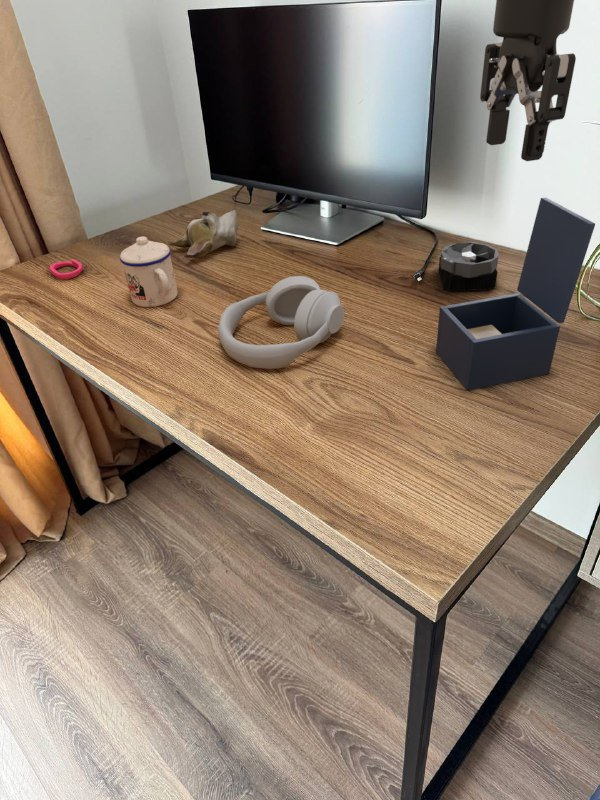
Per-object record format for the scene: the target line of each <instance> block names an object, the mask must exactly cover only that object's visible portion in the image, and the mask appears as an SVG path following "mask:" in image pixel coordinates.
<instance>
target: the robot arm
mask: <svg viewBox="0 0 600 800" xmlns="http://www.w3.org/2000/svg"><path fill="white" fill-rule="evenodd" d="M574 3H575V0H496V1H495V10H494V18H493V19H494V20H493V28H492V31H493V34H494V35H495V36H496V37H499V38H502V42H493V43H489V44H486V46H485V49H484V59H483V67H482V68H483V69H482V76H481V84H480V95H479V99H480V101H481V103H484V102H486V109H487V110H488V111H489V116H488V124H487V131H486V140H485V141H486V144H488V145H490V146H497V145H503V144H504V143H505V142H506V141H507V133H508V127H509V119H510V112H511V111H510V109H508V108H510V106H511V104H512V102H513V101H514V99H515V97H516V96H517V94H518V101H519V104H520V105H522V106H524V112H525V116H526V123H527V124H525V129H524V135H523V141H522V148H521V154H520V159H521V160H523V161H525V162H531V161H532V162H533V161H538V160H541V159H542V157H543V155H544V152H545V147H546V146H545V145H546V141H547V135H548V130H549V126H550V124H551V123H552V122H555V121H558V120H559V121H560V120H563V119H564V118H565V116H566V112H567V107H568V101H569V97H570V91H571V87H572V81H573V76H574V70H575V66H576V60H577V59H576V58H577V57H576V54H575V53H574V52H573V53H563V54H559V53H558V52H557V40H558V38H559V37H560V35H563V34H565V33H567V31H568V30H569V29H570V26H571V20H572V16H573V15H572V14H573V9H574ZM492 79H493V80H492ZM491 81H492V82H491ZM490 88H491V89H490ZM540 89H541V90H540ZM554 96H557V97H556V103H555V107H554V103H553V97H554ZM536 104H538V110H537V105H536Z"/></svg>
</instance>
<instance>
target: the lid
mask: <svg viewBox="0 0 600 800" xmlns="http://www.w3.org/2000/svg"><path fill="white" fill-rule="evenodd" d="M595 227H596V223H595V222H593V221H591V220H589V219H588V218H585V217H583V216H582V215H580V214H578V213H576V212H575V211H572V210H570V209H568V208H567V207H565V206H563V205H561V204H559V203H557V202H555V201H554V200H551V199H550V198H547V197H540V199H539V203H538V207H537V212H536V215H535V219H534V223H533V227H532V231H531V234H530V238H529V242H528V245H527V249H526V252H525V253H526V254H525V257H524V261H523V264H522V268H521V272H520V276H519V280H518V285H517V288H516V290H517V291H518V293H519V294H521V295H522V296H523V297H524V298H526V299H527V300H528V301H529V302H531V303H532V304H533V305H534V306H536V307H537V308H538V309H539V310H540V311H542V312H543V313H544V314H545V315H547V316H548V317H549V318H550V319H552V320H553V321H554V322H555V323H557V324H564V323H565V320H566V317H567V314H568V311H569V308H570V304H571V302H572V299H573V295H574V292H575V289H576V286H577V283H578V281H579V280H578V279H579V277H580V273H581V271H582V267H583V264H584V261H585V258H586V255H587V252H588V249H589V245H590V242H591V239H592V236H593V233H594V230H595Z"/></svg>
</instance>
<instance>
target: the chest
mask: <svg viewBox="0 0 600 800" xmlns="http://www.w3.org/2000/svg"><path fill="white" fill-rule="evenodd" d="M487 325H493V326H494V327H495V328H496V329H497V330H498V331H499V332H500V333H501V334H500V335H495V336H490V337H485V338H479V339H476V338H475V337H474V336H473V335H472V334H471V333H470V332H469V331H468V330H467V329H471V328H477V327H482V326H487ZM560 329H561V325H559V323H558V322H556V321H555V320H554V319H553V318H551V317H550V316H549V315H548V314H546V313H545V312H544V311H543V310H541V309H540V308H539V307H538V306H536V305H535V304H534V303H533V302H531V301H530V300H529V299H528V298H526V297H525V296H524V295H523V294H521V293H520V292H515V293H511V294H510V293H509V294H504V295H500V296H494V297H487V298H483V299H477V300H472V301H466V302H460V303H454V304H448V305H443V306H440V307H439V312H438V324H437V336H436V345H435V346H436V347H435V353H436V354H437V355H438V357H439V358H440V359H441V360H442V362H443V363H444V364H445V365H446V366H447V368H448V369H449V371H451V372H452V374H453V375H454V376H455V377H456V379H457V380H458V381H459V383H460V384H461V385H462V386H463V387H464V388H465V390H466V391H471V390H478V389H483V388H488V387H492V386H497V385H501V384H502V385H503V384H507V383H511V382H517V381H521V380H527V379H532V378H536V377H541V376H547V375H550V373H551V368H552V363H553V359H554V355H555V350H556V347H557V341H558V338H559V334H560Z"/></svg>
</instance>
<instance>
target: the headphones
mask: <svg viewBox="0 0 600 800" xmlns="http://www.w3.org/2000/svg"><path fill="white" fill-rule="evenodd" d="M262 304H265V308H266V311H267V313H268V315H269V317H270V319H272V320H273V321H274V322H275V323H278V324H281V325H283V326H294V332H295V335H296V337H297V338H298V339H299V341H294V342H286V343H285V342H284V343H277V344H260V345H259V344H252V343H245V342H242V341H241V340H238V339H236V338H235V337H234V336H233V335H234V333H235V331H236V329H237V327H238V325H240V322H241V321H242V320H243V319H244V316H245V315H246V313H248V312H249V311H251V309H253V308H255V307H256V306H258V305H262ZM344 319H345V309H344V307H343V306H341V300H340V296H339V294H337V293H336V292H333V291H331V290H330V291H329V290H327V289H326V290H325V289H321V288H320V286H319V284H318V283H317V282H316V281H315V280H314V279H313V278H310V277H308V276H303V275H294V276H288V277H285V278H283V279H281V280H279V281H278V282H276V283H275V284H274V285H273V286H271V288H270V290H269V291H268V292H262V293H258V294H256V295H251V296H249V297H247V298H244V299H243V300H239V301H238V302H237V301H235V302H233V303H231V304H229V305H228V306H227V307H226V308H225V309H224V310H223V312H222V314H221V316H220V318H219V321H218V326H217V333H218V337H219V341H220V344H221V347H222V348H223V350H224V351H225V352H226V353H227V355H228V356H229V357H230V358H232V359H233V360H234V361H236V362H238V363H239V364H242V365H245V366H247V367H249V368H255V369H266V370H275V369H276V370H277V369H281V368H282V369H283V368H285V367H288V366H290V365H291V364H293V363H295V362H296V359H298V358H300V357H301V355H303V354H305V353H308V352H309V351H311V350H312V349H313V348H315V347H316V346H317V345H318V344H321V343H324V342H325V341H327V340H328V339H329V338H330V337H331V336H332V334H335V333H337V332H338V331H340V328H342V325H343V322H344Z"/></svg>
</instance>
